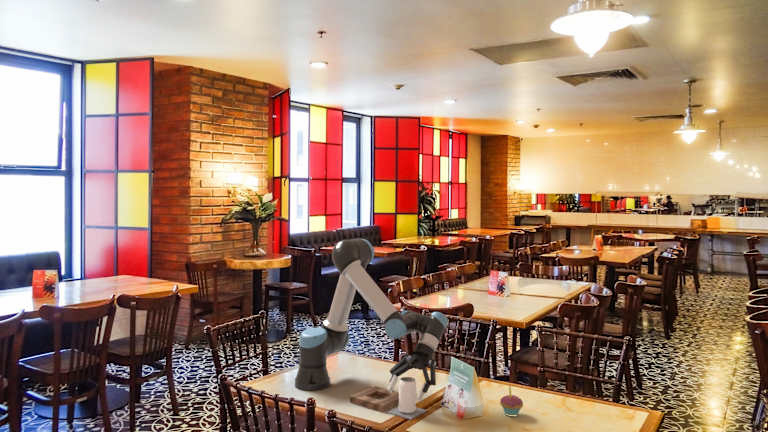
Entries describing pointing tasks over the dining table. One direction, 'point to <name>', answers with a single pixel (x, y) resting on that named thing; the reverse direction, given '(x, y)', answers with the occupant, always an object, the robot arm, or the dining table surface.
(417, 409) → the mat
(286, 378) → the dining table surface
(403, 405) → the can
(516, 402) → the cupcake
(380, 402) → the holder
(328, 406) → the dining table surface
